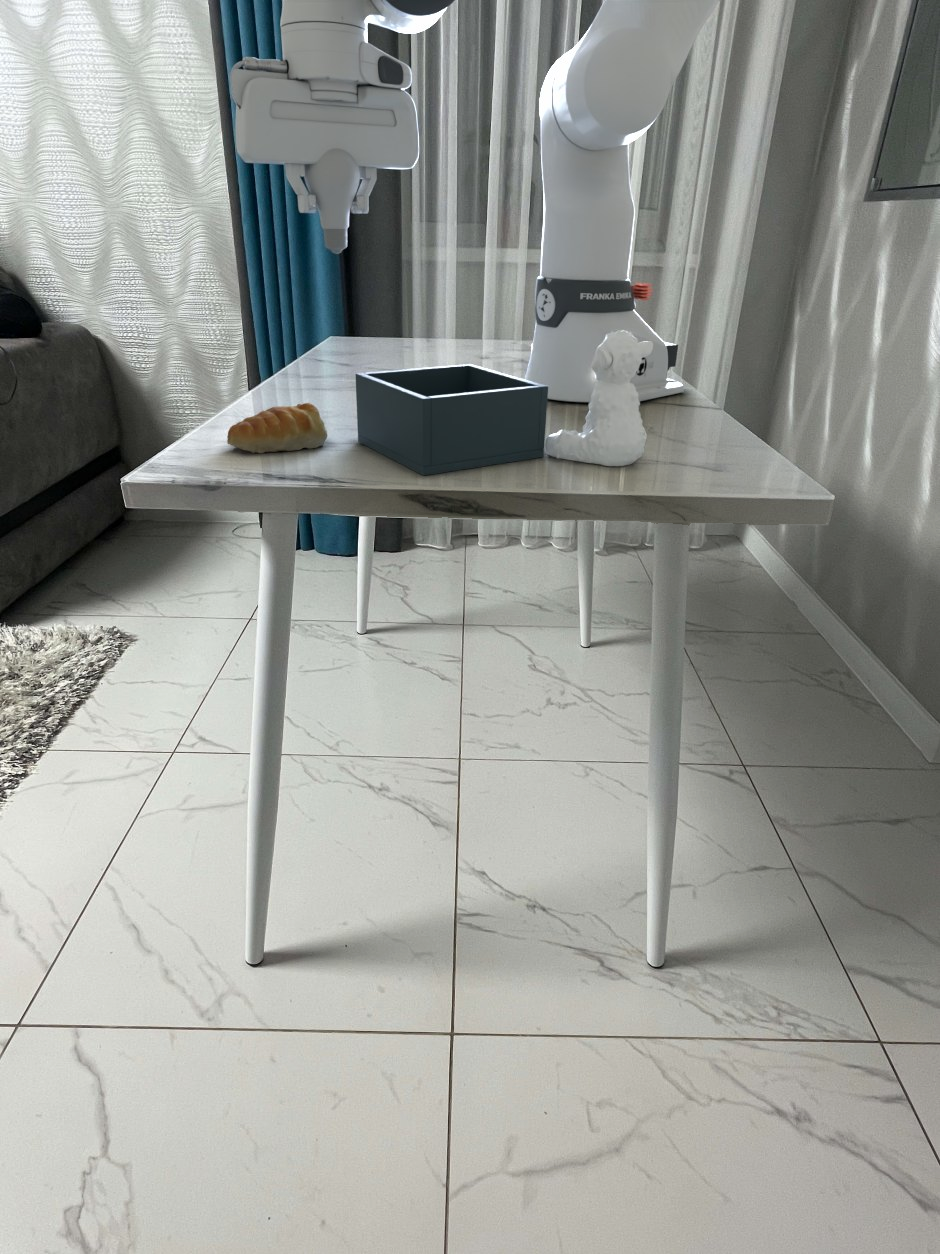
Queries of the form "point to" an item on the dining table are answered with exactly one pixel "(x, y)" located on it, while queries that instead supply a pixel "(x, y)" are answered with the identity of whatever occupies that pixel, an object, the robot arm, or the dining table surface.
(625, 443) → the sitting furry creature
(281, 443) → the pastry
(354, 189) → the lightbulb
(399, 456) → the bin
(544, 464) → the dining table surface
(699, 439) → the dining table surface
